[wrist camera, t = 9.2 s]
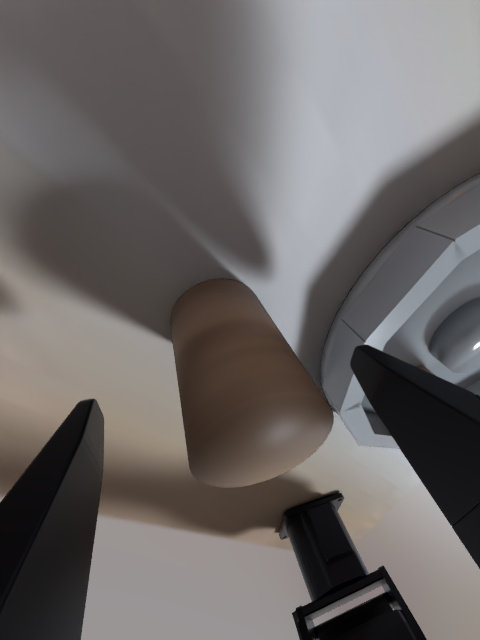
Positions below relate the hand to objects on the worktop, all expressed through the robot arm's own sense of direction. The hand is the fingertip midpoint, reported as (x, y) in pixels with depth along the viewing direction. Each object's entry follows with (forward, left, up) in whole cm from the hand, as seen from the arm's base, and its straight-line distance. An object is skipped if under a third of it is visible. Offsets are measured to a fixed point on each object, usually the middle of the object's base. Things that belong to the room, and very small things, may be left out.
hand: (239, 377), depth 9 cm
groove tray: (-3, -15, -3) cm, 16 cm away
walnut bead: (0, 0, -3) cm, 3 cm away
